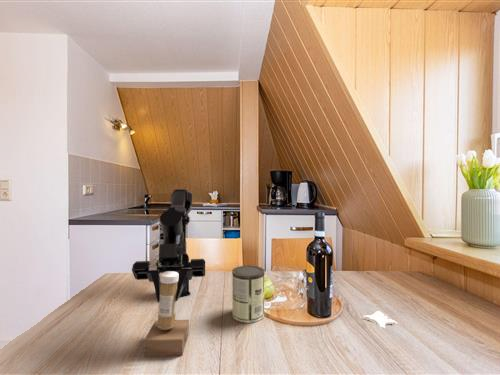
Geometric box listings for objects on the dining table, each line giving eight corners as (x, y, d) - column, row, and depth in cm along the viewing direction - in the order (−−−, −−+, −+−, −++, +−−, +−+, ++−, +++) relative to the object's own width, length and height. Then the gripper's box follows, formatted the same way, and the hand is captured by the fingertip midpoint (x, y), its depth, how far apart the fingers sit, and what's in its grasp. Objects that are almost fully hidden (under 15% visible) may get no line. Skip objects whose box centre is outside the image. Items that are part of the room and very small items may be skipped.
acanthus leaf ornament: (362, 320, 81) (362, 314, 81) (375, 315, 84) (375, 309, 84) (385, 332, 74) (385, 325, 74) (398, 325, 78) (398, 319, 78)
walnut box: (155, 335, 71) (155, 320, 71) (188, 334, 71) (188, 319, 71) (143, 356, 62) (144, 340, 62) (182, 355, 63) (182, 338, 62)
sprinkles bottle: (178, 324, 68) (182, 272, 68) (166, 332, 64) (170, 277, 64) (165, 319, 70) (168, 269, 70) (152, 327, 65) (156, 274, 66)
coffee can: (240, 304, 89) (241, 263, 89) (269, 310, 85) (269, 267, 85) (225, 318, 80) (226, 272, 80) (256, 326, 76) (256, 278, 76)
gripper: (133, 231, 69) (120, 290, 58) (205, 229, 72) (205, 285, 61) (140, 252, 77) (130, 308, 66) (205, 250, 80) (205, 302, 69)
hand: (167, 300), depth 65 cm, fingers closed on sprinkles bottle, 4 cm apart
